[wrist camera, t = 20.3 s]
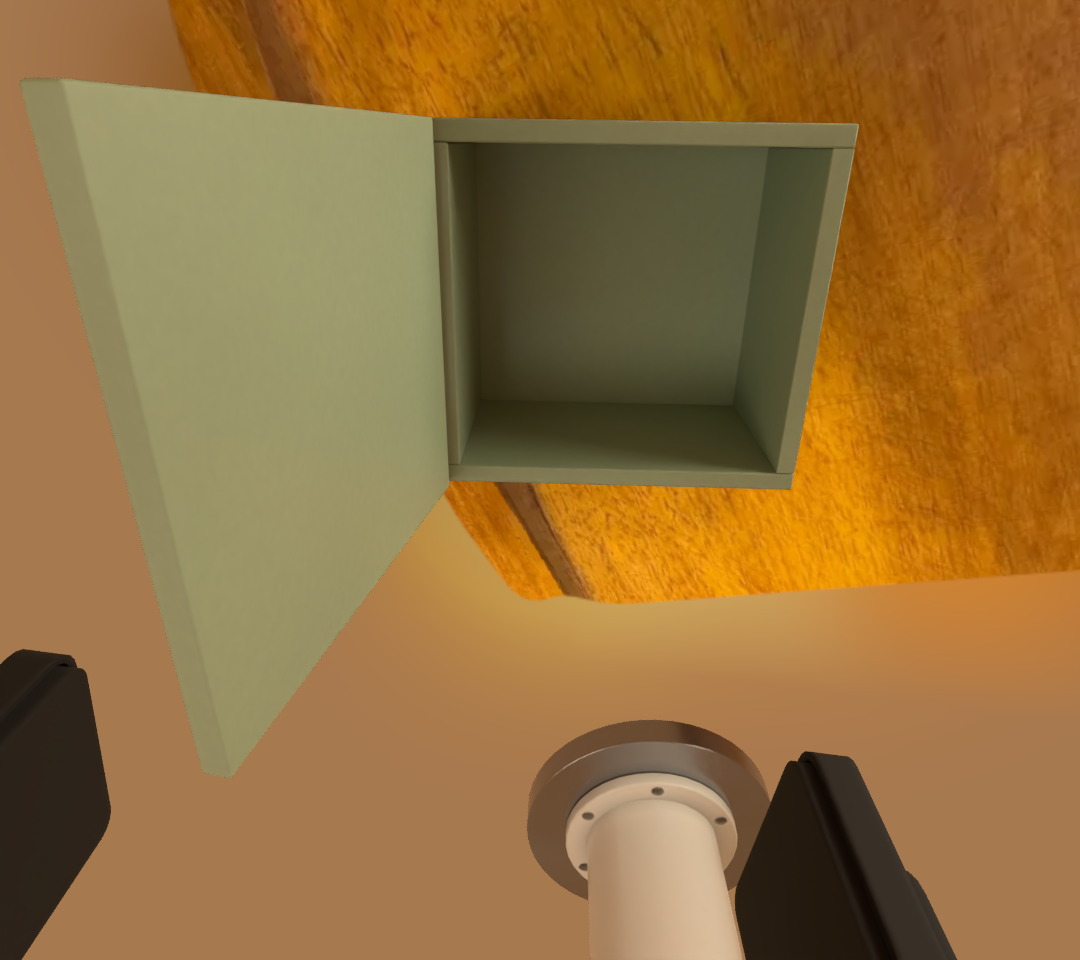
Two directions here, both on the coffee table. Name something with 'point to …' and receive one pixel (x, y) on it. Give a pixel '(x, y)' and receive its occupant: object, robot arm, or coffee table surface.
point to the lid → (254, 363)
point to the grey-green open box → (633, 296)
